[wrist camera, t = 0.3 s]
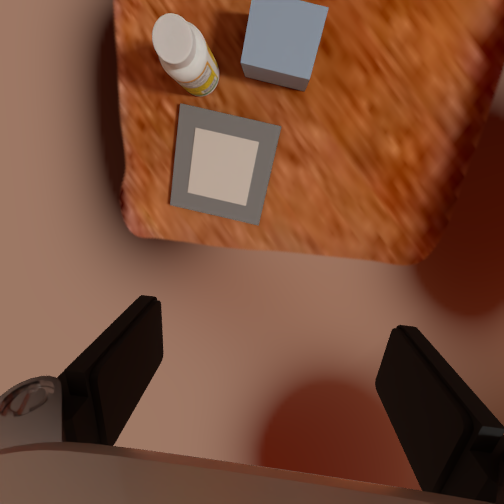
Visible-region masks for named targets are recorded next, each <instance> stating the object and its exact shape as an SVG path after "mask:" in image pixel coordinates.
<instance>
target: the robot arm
mask: <svg viewBox="0 0 504 504" xmlns="http://www.w3.org/2000/svg"><path fill="white" fill-rule="evenodd" d="M162 358H163V335H162V316H161V302H160V301H157V298H156V297H153V296H144V295H141V296H140V297H139V298H138V299H136V300H135V301H134V302H133V304H131V305H130V306H129V307H128V308H127V309H126V310H125V311H124V312H123V313H122V314H121V315H120V316H119V317H118V318H117V319H116V320H115V321H114V322H113V323H112V324H111V325H110V326H109V327H108V328H107V329H106V330H105V331H104V332H103V333H102V334H101V335H100V336H99V337H98V338H97V339H96V340H95V341H94V342H93V343H92V344H91V345H90V346H89V347H88V348H87V349H85V350H84V351H83V353H81V354H80V355H79V357H77V358H76V359H75V360H74V361H73V362H72V363H71V364H70V365H69V366H68V367H67V368H66V369H65V371H64V372H62V374H60V375H59V376H58V377H57V378H56V377H52V376H39V377H35V378H31V379H28V380H26V381H23V382H21V383H19V384H17V385H15V386H13V387H12V388H10V389H9V390H8V391H6V392H5V393H4V394H2V395H1V396H0V504H504V435H503V433H504V426H503V425H502V424H501V423H500V422H499V421H498V419H497V418H496V417H495V416H494V415H493V414H492V413H491V411H490V410H489V409H488V408H487V407H486V406H485V405H484V403H483V402H482V401H481V400H480V399H479V398H478V397H477V396H476V394H475V393H474V392H473V391H472V390H471V389H470V388H469V387H468V385H467V384H466V383H465V382H464V381H463V380H462V378H461V377H460V376H459V375H458V374H457V373H456V372H455V371H454V369H453V368H452V367H451V366H450V365H449V364H448V363H447V361H446V360H445V359H444V358H443V357H442V356H441V355H440V353H439V352H438V351H437V350H436V349H435V348H434V347H433V346H432V345H431V343H430V342H429V341H428V340H427V339H426V338H425V337H424V335H423V334H422V333H421V332H420V331H419V330H418V329H417V328H416V327H413V326H404V325H399V326H397V328H394V329H392V331H391V334H390V338H389V340H388V343H387V346H386V350H385V353H384V356H383V359H382V362H381V365H380V368H379V371H378V375H377V377H376V382H375V385H376V390H377V393H378V395H379V397H380V399H381V401H382V403H383V406H384V408H385V410H386V412H387V414H388V417H389V419H390V421H391V423H392V425H393V427H394V430H395V432H396V434H397V436H398V439H399V441H400V443H401V445H402V447H403V449H404V452H405V454H406V456H407V458H408V460H409V463H410V465H411V467H412V469H413V471H414V474H415V476H416V478H417V480H418V482H419V485H420V487H421V489H422V491H419V490H413V489H406V488H400V487H394V486H387V485H381V484H374V483H368V482H361V481H355V480H348V479H342V478H335V477H328V476H322V475H315V474H308V473H301V472H294V471H288V470H281V469H274V468H268V467H261V466H254V465H247V464H240V463H233V462H227V461H219V460H213V459H206V458H199V457H192V456H184V455H177V454H170V453H163V452H156V451H148V450H141V449H132V448H124V447H116V446H113V445H114V444H115V442H116V441H117V439H118V437H119V435H120V433H121V431H122V430H123V428H124V426H125V425H126V423H127V421H128V419H129V418H130V416H131V414H132V412H133V411H134V409H135V407H136V405H137V404H138V402H139V400H140V398H141V396H142V395H143V393H144V391H145V390H146V388H147V386H148V384H149V383H150V381H151V379H152V377H153V376H154V374H155V372H156V370H157V369H158V367H159V365H160V363H161V361H162Z"/></svg>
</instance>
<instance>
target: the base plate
mask: <svg viewBox="0 0 504 504" xmlns="http://www.w3.org/2000/svg"><path fill="white" fill-rule="evenodd" d="M280 130H281V126H277V125H273V124H268V123H264V122H260V121H255V120H251V119H247V118H242V117H238V116H233V115H229V114H225V113H220V112H216V111H212V110H207V109H203V108H198V107H194V106H190V105H185V104H181V103H180V111H179V121H178V131H177V141H176V151H175V161H174V171H173V181H172V191H171V201H170V205H173V206H177V207H181V208H186V209H190V210H194V211H198V212H203V213H207V214H211V215H216V216H220V217H224V218H229V219H233V220H237V221H242V222H246V223H250V224H255V225H259V221H260V217H261V212H262V208H263V204H264V199H265V195H266V190H267V186H268V182H269V177H270V173H271V169H272V164H273V160H274V156H275V151H276V147H277V143H278V138H279V134H280Z"/></svg>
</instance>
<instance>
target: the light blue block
mask: <svg viewBox="0 0 504 504" xmlns="http://www.w3.org/2000/svg"><path fill="white" fill-rule="evenodd" d="M327 12H328V7H324V6H320V5H316V4H312V3H308V2H304V1H300V0H252V1H251V7H250V12H249V18H248V24H247V29H246V35H245V40H244V46H243V52H242V57H241V66H242V69H243V72H244V75H245V77H248V78H252V79H256V80H260V81H264V82H268V83H272V84H276V85H280V86H284V87H288V88H292V89H297V90H301V91H305V89H306V87H307V85H308V82H309V80H310V76H311V72H312V68H313V65H314V61H315V57H316V53H317V50H318V46H319V42H320V38H321V35H322V31H323V27H324V23H325V19H326V16H327Z"/></svg>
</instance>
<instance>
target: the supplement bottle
mask: <svg viewBox="0 0 504 504" xmlns="http://www.w3.org/2000/svg"><path fill="white" fill-rule="evenodd" d="M152 41H153V46H154V49H155V51H156V53H157V54H158V56H159V60H160V62H161V65H162V67H163V68H164V70H165V71H166V72H167V74H168V75H169V76H171V77H172V78H173V79H174V80H175V81H176V82H177V83H179V84H180V85H181V86H182V87H183V88H184V89H185V90H187V91H188V92H189V93H191V94H192V95H195V96H206V95H208V94H210V93H211V92H212V91H213V90H214V89H215V88H216V86H217V83H218V80H219V68H218V64H217V62H216V60H215V58H214V56H213V54H212V52H211V50H210V48H209V46H208V44H207V43H206V40H205V39H204V37H203V35H202V34H201V32H200V31H199V30H198V29H197V28H196V27H195V26H194V25H193V24H191V23H189V22H187V21H185V20H184V19H183V18H182V17H181V16H179V15H177V14H173V13H168V14H165V15H163V16H161V17H160V18H159V19H158V20H157V21H156V23H155V25H154V28H153V32H152Z"/></svg>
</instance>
